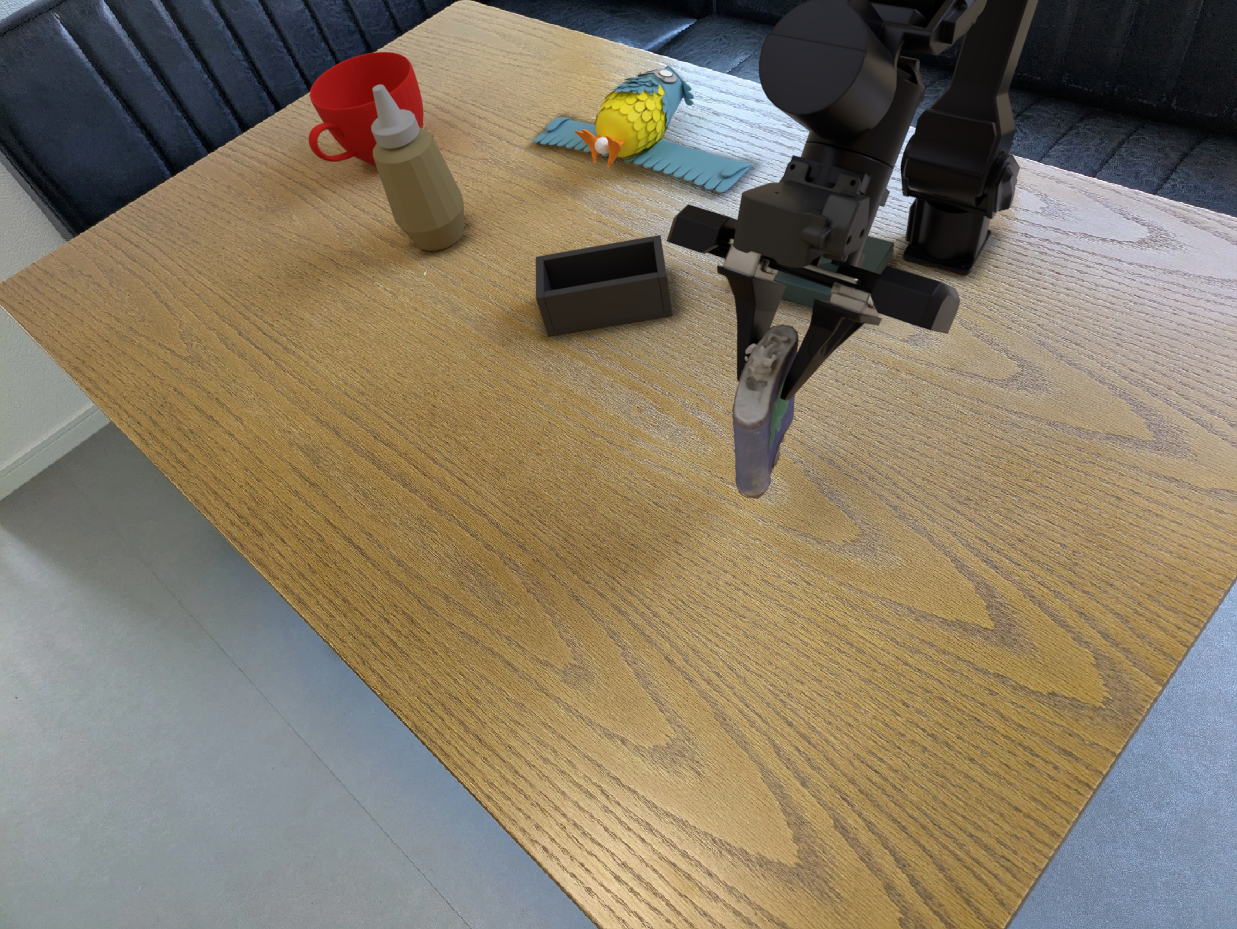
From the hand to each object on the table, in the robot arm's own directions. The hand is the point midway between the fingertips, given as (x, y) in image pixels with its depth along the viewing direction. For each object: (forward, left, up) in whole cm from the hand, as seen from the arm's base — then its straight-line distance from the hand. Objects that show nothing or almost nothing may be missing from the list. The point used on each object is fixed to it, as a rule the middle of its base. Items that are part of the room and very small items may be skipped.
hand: (762, 390), depth 56 cm
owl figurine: (+36, -38, -13) cm, 54 cm away
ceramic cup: (+68, -25, -13) cm, 73 cm away
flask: (0, 0, -7) cm, 7 cm away
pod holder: (+25, -14, -13) cm, 31 cm away
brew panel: (+8, -26, -13) cm, 30 cm away
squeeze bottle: (+50, -16, -13) cm, 54 cm away
